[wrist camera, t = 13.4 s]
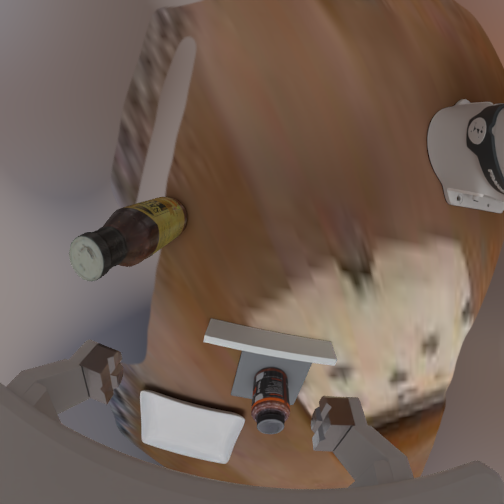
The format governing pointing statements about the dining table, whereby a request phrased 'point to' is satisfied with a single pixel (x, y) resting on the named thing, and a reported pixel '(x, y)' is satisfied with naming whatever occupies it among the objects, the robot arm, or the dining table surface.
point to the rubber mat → (258, 362)
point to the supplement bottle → (270, 400)
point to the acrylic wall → (270, 343)
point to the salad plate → (188, 427)
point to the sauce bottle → (128, 237)
